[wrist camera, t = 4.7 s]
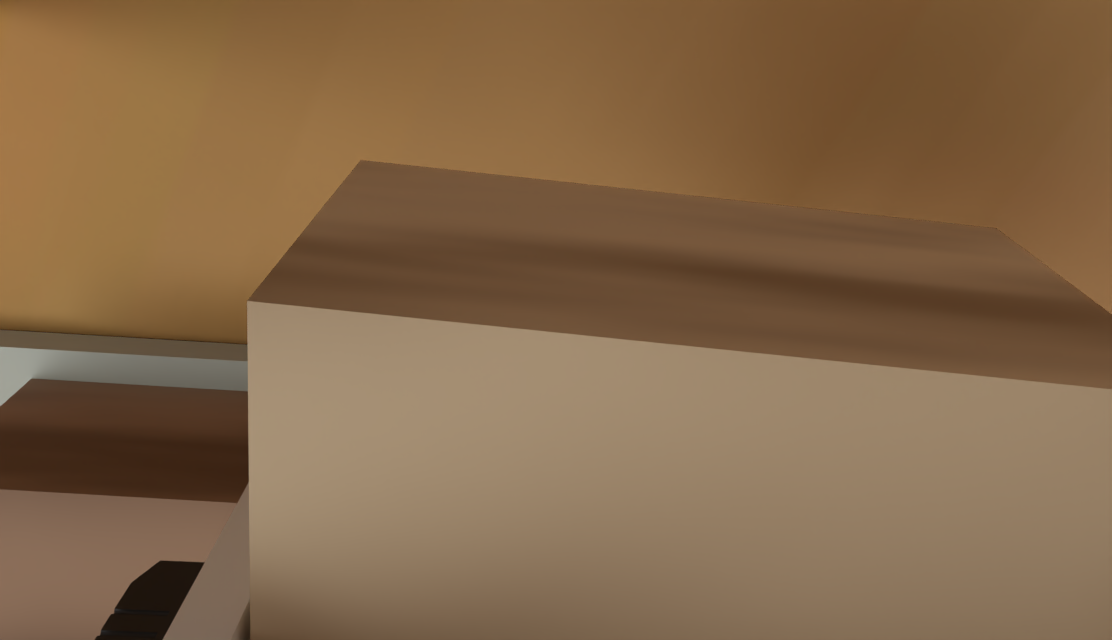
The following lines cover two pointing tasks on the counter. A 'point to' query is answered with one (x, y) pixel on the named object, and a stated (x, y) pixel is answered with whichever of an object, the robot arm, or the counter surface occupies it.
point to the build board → (119, 361)
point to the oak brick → (669, 422)
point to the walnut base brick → (108, 494)
